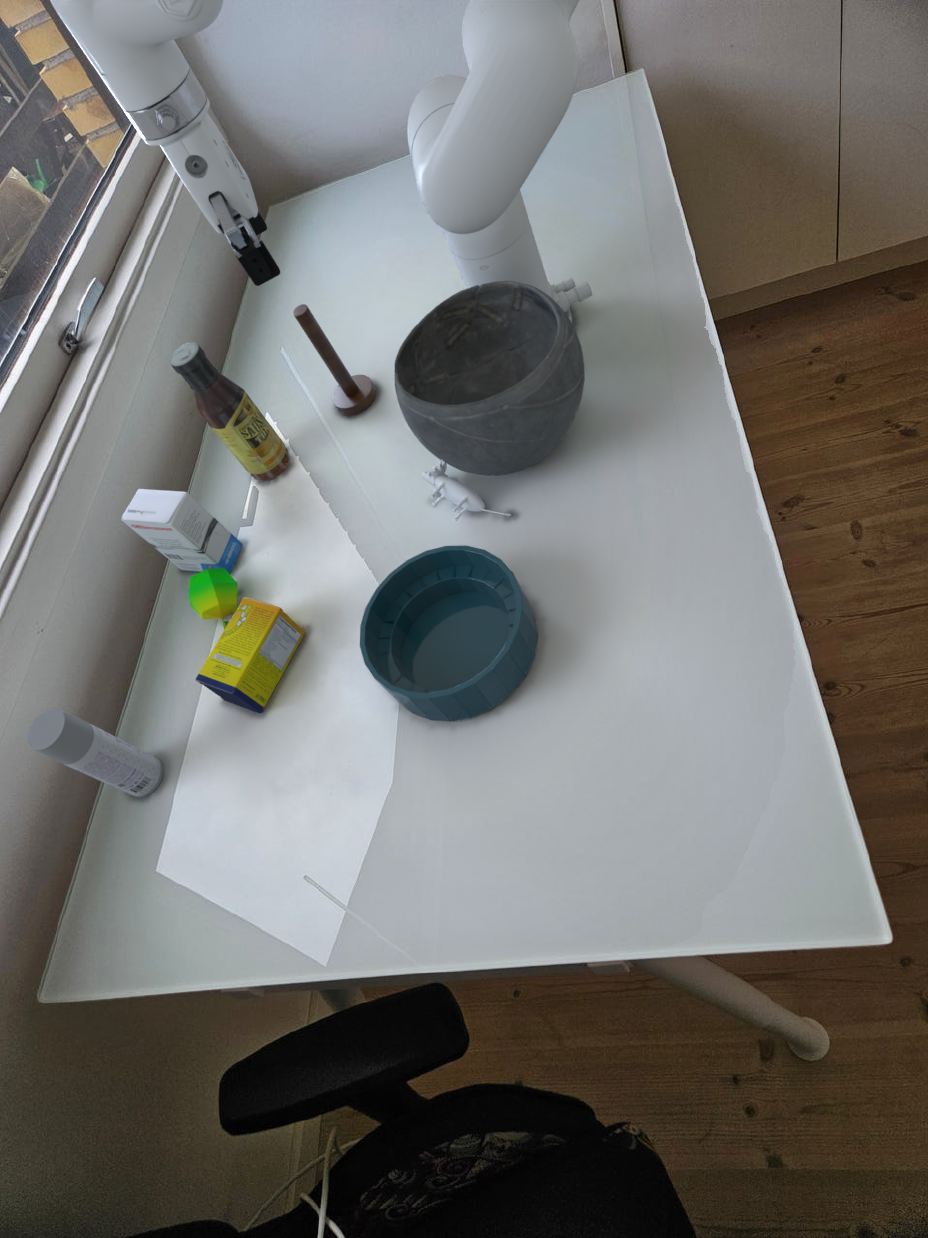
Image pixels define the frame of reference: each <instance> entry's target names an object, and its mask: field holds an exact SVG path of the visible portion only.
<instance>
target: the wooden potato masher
mask: <svg viewBox="0 0 928 1238" xmlns="http://www.w3.org/2000/svg"><path fill="white" fill-rule="evenodd" d="M292 311H293V312H292V315H293V316H294V318H295V320H296V321H297V323H298V325H299V326H300V327H301V329H302V330H303V332H304V334H305V335H306V337H307V338H308V340H309V341H310V343H311V344H312V346H313V347H314V349H315V351H316V353H318V355H319V357H320V358H321V360H322V361H323V363H324V364H325V366H326V367H327V369H328V371H329V372H330V374H331V375H332V377H333V378H334V380H335V381H336V383H337V386H336V387H335V389H334V390H333V392H332V396H331V401H332V403H333V405H334V407H335V409H336V410H337V412H338V413H339V414H341V415H342V416H346V417H354V416H358V415H360V414H362V413H364V412H366V411H367V410H368V409H369V408H370V407H372V405H373V404H374V403H375V401H376V398H377V394H378V393H377V392H378V391H377V388H376V386H375V384H374V382H373V381H372V379H371V378H370V377H369V376H367V375H365V374H355V375H351V373H350V372H349V370H348V369H347V367H346V366H345V364H344V362H343V360H342V359H341V358H340V356H339V354H338V353H337V351H336V349H335V348H334V347H333V345H332V343H331V342H330V340H329V338H328V337H327V336H326V334H325V332H324V330H323V328H322V327H321V325H320V324H319V322H318V320H317V319H316V318H315V315H314V314H313V312H312V311H311V309H310V308H309V306H308V305H307V304H305V303H302V304H299V305H298V306H296V307H295V308H294V309H293V310H292Z"/></svg>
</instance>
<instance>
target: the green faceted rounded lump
mask: <svg viewBox="0 0 928 1238" xmlns="http://www.w3.org/2000/svg"><path fill="white" fill-rule="evenodd" d="M238 590H239V589H238V581H237V580H236V579H235V578H234V577H233V576H232V575H231V573H230V574H229V573H228V572H227V571H226V570H225V568H222V569H206V570H204V571H202V572H197V573H195V574H194V575H192V576H189V583H188V593H187V595H188V602H189V606H190V607H191V609H192V610H193V611H194V612H195V613H196V614H197V615H198V616H199V617H200V619H201V620H202V621H203V620H205V621H206V620H208V621H209V620H220V621H221V624H222V627H223V631H224V630H225V628H226V626H227V625H228V623H229V621H230V620H225V619H224V618H226V617H228V616H229V615H232V614H234V613H235V611H236V610H237V608H238V595H239V593H238Z"/></svg>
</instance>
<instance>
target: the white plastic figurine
mask: <svg viewBox="0 0 928 1238" xmlns="http://www.w3.org/2000/svg"><path fill="white" fill-rule="evenodd" d="M447 465H448V464H447V463H445V462H444V461H442V460H440V459H439V460H438V462H437V466H436V465H435V464H434V465H432V468H431V470H432V471H422V472H421V476H422V478H423V479H424V480H425V481H426V482H427V483H429V484H430V485H431V486H432V487H433V490H432V491H431V493H429V498H430V500H432V501H434V499H435V497H436V496H437V495H439V496H440V497H437V498H436V501H435V502H432V503H431V506H432V507H433V508H435V507H437V506H438V505H439V503H440V502H442V500H443V499H447V500H448V501H449V502H451V503H452V504H454V505H455V507H452V511H453V512H454V513H456V512H457V511H458V510H459V509H460V508H462V510H461V511H459V512H458V514H457V515H456V516H453V519H454V521H456V522H457V521H458V520H459V519H460V518H461V517H462V515H464V514H465V512H467V511H470V512H473V513H474V512H475V513H479V512H487V513H493V514H497V515H503V516H507V517H508V518H509V517H513V515H512V513H510V512H508V513H507V512H506V513H505V512H501V511H494V510H491V509H486V508H485V503H484V500H483V499H482V497H480V495H479V494H478V493H477V492H476V491H475V490H474V489H472V488H471V487H469V486H468V485H467V484H465V483H464V482H462V481H460V480H458V479H457V478H454V477H452V476H449V475H448V474H447V473H446V472H447V468H448V466H447Z"/></svg>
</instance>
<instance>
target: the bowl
mask: <svg viewBox="0 0 928 1238" xmlns="http://www.w3.org/2000/svg"><path fill="white" fill-rule="evenodd" d="M584 359H585V358H584V354H583V350H582V345H581V342H580V339H579V336H578V333H577V331H576V329H575V327H574V325H573V322H572V323H571V321H570V319H569V318H568V316H567V315H566V313H565V312H564V311H563V310H562V308H561V307H560V306H559V305H558V304H557V303H556V302H555V301H554V300H553V299H552V298H551V297H550V296H549V295H547V294H546V293H544V292H543V291H541V290H539V289H538V288H536V287H533V286H531V285H527V284H523V283H519V282H515V281H497V282H491V283H486V284H482V285H480V286H479V285H476V286H473V287H470V288H468V289H467V288H465V289H463V290H459V291H458V292H456V293H454V294H452V295H451V296H449V297H448V298H446V299H445V300H443V301H442V302H440V303H438V304H437V305H436V306H435V307H434V308H433V309H432V310H431V311H430V312H428V313H427V314H426V315H425V316H424V317H422V319H420V321H419V322H418V323H417V324H415V326H414V327H413V328H412V329H411V331H410V332H409V333H408V335H407V336H406V338H405V339H404V340H403V342H402V344H401V345H400V347H399V349H398V350H397V353H396V356H395V360H394V371H393V372H394V374H393V375H394V376H393V377H394V388H395V389H394V390H395V394H396V399H397V403H398V406H399V408H400V411H401V414H402V416H403V418H404V421H405V422H406V424H407V427H408V428H409V429H410V431H411V433H412V434H413V436H415V438H416V439H417V440H418V442H419V443H420V444H421V445H422V446H423V447H424V448H425V449H426V450H427V451H428V452H430V453H431V454H432V455H433V456H435V458H437V459H439V460H442V462H443V461H444V462H445V463H446V464H447V465H449V466H450V467H451V468H452V467H453V468H455V469H457V470H459V471H461V472H463V473H464V472H465V473H467V474H472V475H477V476H487V477H492V476H496V477H497V476H506V475H511V474H515V473H518V472H521V471H523V470H526V469H528V468H529V467H532V466H534V465H535V464H537V463H538V462H539V461H541V460H542V459H544V458H545V457H546V456H548V454H549V453H551V452H552V451H553V450H554V449H555V448H556V447H557V446H558V445H559V444H560V442H561V441H562V439H563V438H564V437H565V435H566V433H567V432H568V430H569V429H570V427H571V426H572V424H573V421H574V420H575V418H576V415H577V413H578V410H579V409H580V405H581V401H582V397H583V393H584V387H585V378H586V377H585V375H586V374H585V371H586V370H585V369H586V368H585V367H586V366H585V360H584Z"/></svg>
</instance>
